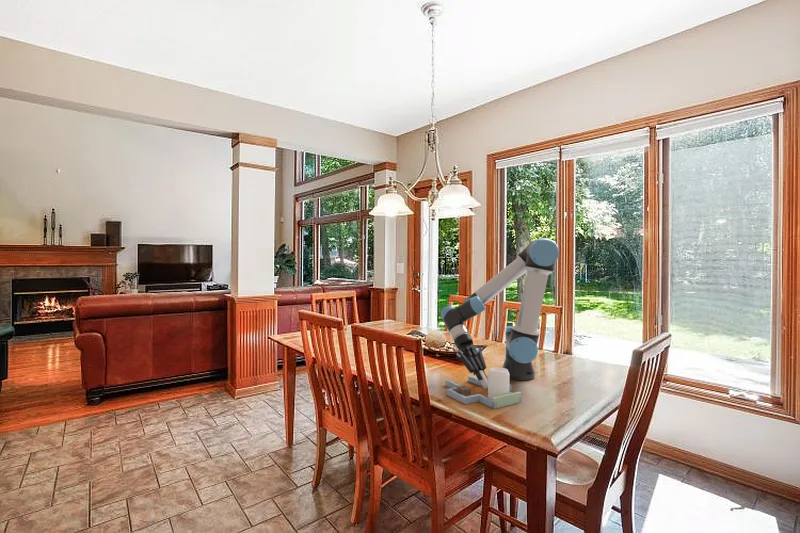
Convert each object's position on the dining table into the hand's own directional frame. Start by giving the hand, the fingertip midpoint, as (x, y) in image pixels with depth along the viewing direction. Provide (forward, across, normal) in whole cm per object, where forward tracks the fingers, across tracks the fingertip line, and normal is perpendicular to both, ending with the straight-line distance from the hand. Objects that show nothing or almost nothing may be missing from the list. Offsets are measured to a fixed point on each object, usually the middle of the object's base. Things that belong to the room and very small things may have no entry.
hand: (486, 386), depth 158 cm
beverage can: (+7, -1, +1) cm, 7 cm away
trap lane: (0, 0, -5) cm, 5 cm away
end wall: (+11, 0, +5) cm, 12 cm away
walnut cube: (+1, +9, -5) cm, 11 cm away
